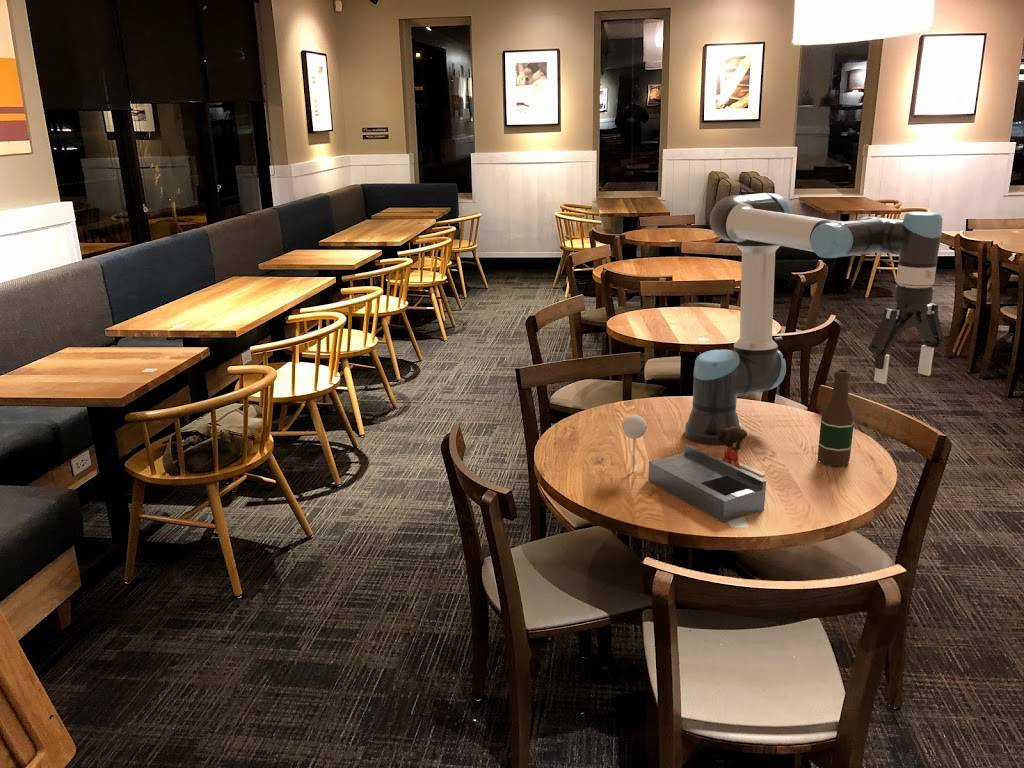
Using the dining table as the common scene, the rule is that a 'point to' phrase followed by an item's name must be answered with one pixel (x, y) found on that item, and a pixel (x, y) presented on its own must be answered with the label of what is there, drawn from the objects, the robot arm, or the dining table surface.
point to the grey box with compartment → (709, 484)
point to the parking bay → (752, 470)
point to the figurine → (732, 443)
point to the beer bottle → (837, 425)
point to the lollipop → (634, 430)
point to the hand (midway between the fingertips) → (902, 378)
